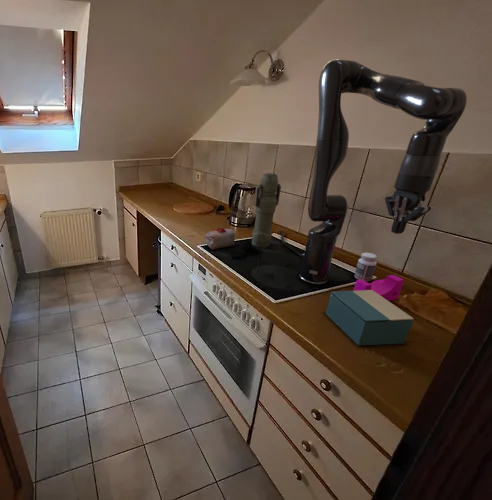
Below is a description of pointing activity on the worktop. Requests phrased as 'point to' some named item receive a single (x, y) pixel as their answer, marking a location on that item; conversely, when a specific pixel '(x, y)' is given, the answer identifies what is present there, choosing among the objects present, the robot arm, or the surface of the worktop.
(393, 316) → the lid
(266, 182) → the thermos
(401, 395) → the worktop surface
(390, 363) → the worktop surface
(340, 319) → the box
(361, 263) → the pill bottle
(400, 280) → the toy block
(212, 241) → the food item
